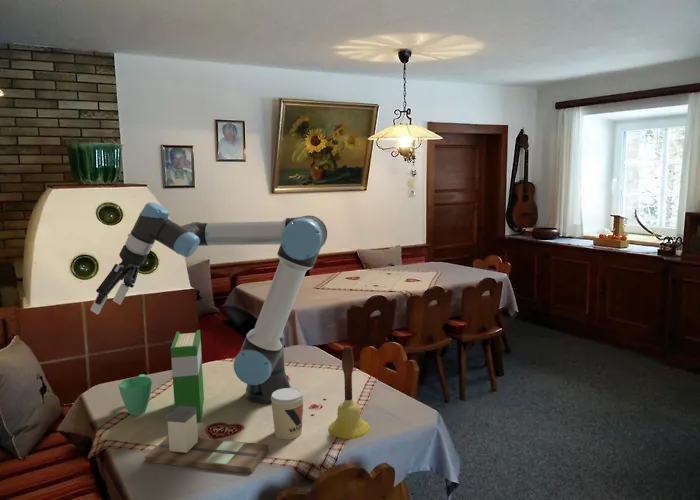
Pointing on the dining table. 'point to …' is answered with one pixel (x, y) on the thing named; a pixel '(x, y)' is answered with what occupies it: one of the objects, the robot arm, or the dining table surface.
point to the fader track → (212, 455)
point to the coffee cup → (287, 412)
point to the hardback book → (188, 371)
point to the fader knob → (182, 428)
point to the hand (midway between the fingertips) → (105, 307)
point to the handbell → (348, 406)
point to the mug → (136, 393)
